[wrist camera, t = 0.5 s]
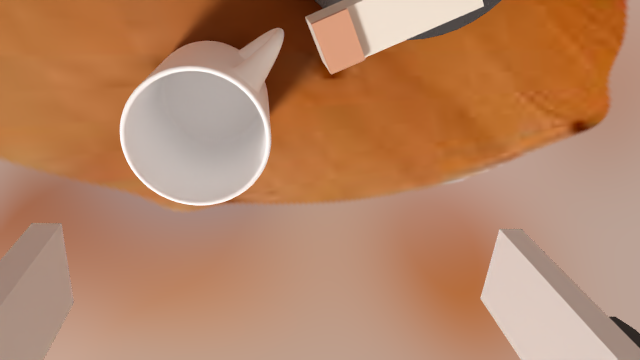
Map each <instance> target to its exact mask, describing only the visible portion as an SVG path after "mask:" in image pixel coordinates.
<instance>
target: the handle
mask: <svg viewBox="0 0 640 360" xmlns="http://www.w3.org/2000/svg"><path fill="white" fill-rule="evenodd" d="M483 6H484V4H483V0H342V1H340V2H338V3H335V4H333V5H331V6H328V7H326V8H324V9H322V10H319V11H317V12H315V13H313V14H310V15H308V16H306V17H305V19H306V21H307V24H308V26H309V29H310V31H311V34H312V36H313V39H314V41H315V44H316V46H317V49H318V52H319V54H320V57H321V59H322V61H323V63H324V64H325V66H326V67H327V69H328V70H329V72H330V73H331V74H334V73H336V72H338V71H341V70H343V69H345V68H348V67H350V66H352V65H354V64H357V63H359V62H361V61H364V60H366V59H365V57H367V56H370V55H372V54H374V53H377V52H379V51H381V50H384V49H386V48H388V47H391V46H393V45H395V44H398V43H400V42H402V41H405V40H407V39H409V38H411V37H414V36H416V35H418V34H421V33H423V32H425V31H428V30H430V29H432V28H435V27H437V26H439V25H442V24H444V23H446V22H449V21H451V20H453V19H456V18H458V17H460V16H463V15H465V14H467V13H469V12H472V11H474V10H476V9H479V8H481V7H483Z"/></svg>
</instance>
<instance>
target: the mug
mask: <svg viewBox="0 0 640 360" xmlns="http://www.w3.org/2000/svg"><path fill="white" fill-rule="evenodd" d="M283 39H284V31H283V29H281V28H275V29H272V30H270V31H268V32H266V33H264V34H263V35H261V36H260V37H258V38H257V39H255V40H254V41H252V42H251V43H249V44H248V45H246V46H245V47H244V48H242V49H240V50H238V49H237V48H235V47H232V46H230V45H228V44H225V43H222V42H217V41H198V42H193V43H190V44H187V45H185V46H183V47H181V48H179V49H177V50H176V51H174V52H173V53H172V54H170V55H169V56H168V57H167V58H166V59H165V60H164V61H163V62H162V63H161V64H160V65H159V66H158V67H157V68H156V69H155V70H154V71H153V72H152V73H151V74H150V75H149V76H148V77H147V78H146V79H145V80H144V81H143V82H142V83H141V84H140V85H139V86H138V87H137V88H136V89H135V90H134V92H133V93H132V94H131V96H130V97H129V99H128V101H127V103H126V105H125V107H124V110H123V113H122V116H121V122H120V140H121V145H122V149H123V153H124V155H125V158H126V160H127V162H128V164H129V165H130V167H131V169H132V170H133V172H134V173H135V174H136V176H137V177H138V178H139V179H140V180H141V181H142V182H143V183H144V184H145V185H146V186H148V187H149V188H150V189H151V190H153V191H154V192H156V193H157V194H159V195H161V196H163V197H165V198H167V199H170V200H172V201H175V202H179V203H183V204H189V205H212V204H217V203H221V202H224V201H227V200H230V199H232V198H234V197H236V196H238V195H240V194H241V193H243V192H244V191H246V190H247V189H248V188H249V187H250V186H251V185H253V183H254V182H255V181H256V180H257V179H258V178H259V176H260V175H261V173H262V172H263V170H264V168H265V166H266V164H267V161H268V158H269V154H270V148H271V128H270V115H269V101H268V92H267V87H266V84H265V79H266V77H267V76H268V74H269V72H270V70H271V68H272V66H273V64H274V62H275V60H276V58H277V56H278V54H279V51H280V49H281V46H282V43H283Z"/></svg>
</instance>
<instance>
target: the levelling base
mask: <svg viewBox="0 0 640 360" xmlns="http://www.w3.org/2000/svg"><path fill="white" fill-rule="evenodd" d="M314 1H315V2H316V3H318V4H319V5H320V6H321V7H322V8H323V9H324V8H326V7H328V6H331V5H333V4H335V3H338V2H340V1H342V0H314ZM500 1H501V0H483V4H484V6H483V7H481V8H479V9H476V10H474V11H472V12H469V13H467V14H465V15H463V16H460V17H458V18H456V19H453V20H451V21H449V22H446V23H444V24H442V25H439V26H437V27H435V28H432V29H430V30H428V31H425V32H423V33H421V34H418V35H416V36H414V37H411V38H409V39H407V40H414V39H425V38H430V37H434V36H439V35H443V34H445V33H448V32H451V31H454V30H457V29H459V28H461V27H463V26H465V25H467V24H469V23H471V22H473V21H474V20H476V19H477V18H479V17H480V16H482V15H483V14H485V13H486V12H488V11H489V10H491V9H492V8H493V7H494V6H495V5H496V4H498V3H499V2H500Z"/></svg>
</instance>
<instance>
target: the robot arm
mask: <svg viewBox="0 0 640 360" xmlns="http://www.w3.org/2000/svg"><path fill="white" fill-rule="evenodd" d="M481 300H482V301H483V303H484V305H485V306H486V307H487V309H488V311H489V312H490V314H491V315H492V317H493V318H494V320H495V321H496V323H497V324H498V326H499V327H500V329H501V330H502V332H503V333H504V335H505V336H506V338H507V339H508V341H509V342H510V344H511V345H512V347H513V348H514V350H515V351H516V353H517V354H518V356H519V357H520V359H521V360H640V334H639V333H638V332H637V331H636V330H635V329H633V328H632V327H630V326H629V325H627V324H626V323H624V322H623V321H621V320H619V319H618V318H616V317H608V316H607V315H606V314H605V313H604V312H603V311H602V310H601V309H600V308H599V307H598V306H597V305H596V304H595V303H594V302H593V301H592V300H591V299H590V298H589V297H588V296H587V295H586V294H585V293H584V292H583V291H582V290H581V289H580V288H579V287H578V285H577V284H575V282H574V281H573V280H572V279H570V277H569V276H568V275H567V274H566V273H565V272H564V271H563V270H562V269H561V268H560V267H559V266H558V265H557V264H556V263H555V262H554V261H553V260H552V259H551V258H550V257H549V256H548V255H547V254H546V253H545V252H544V251H543V250H542V249H541V248H540V247H539V246H538V245H537V244H536V243H535V242H534V241H533V240H532V239H531V238H530V237H529V236H528V235H527V234H526V233H525V232H524V231H523V230H522V229H499V233H498V237H497V240H496V244H495V248H494V252H493V255H492V258H491V262H490V266H489V269H488V273H487V277H486V281H485V284H484V288H483V291H482V295H481ZM73 303H74V301H73V295H72V288H71V281H70V275H69V268H68V262H67V256H66V250H65V243H64V237H63V231H62V224H61V223H58V224H57V223H32V224H31V225H30V226H29V227H28V228H27V230H26V231H25V232H24V233H23V234H22V235H21V237H20V238H19V239H18V240H17V241H16V243H15V244H14V245H13V246H12V247H11V249H9V251H8V252H7V253H6V254H5V256H4V257H3V258H2V259H1V260H0V360H44V358H45V356H46V354H47V352H48V350H49V348H50V347H51V345H52V343H53V341H54V339H55V337H56V335H57V333H58V332H59V330H60V328H61V326H62V324H63V322H64V320H65V318H66V317H67V315H68V313H69V311H70V309H71V307H72V305H73Z"/></svg>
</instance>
